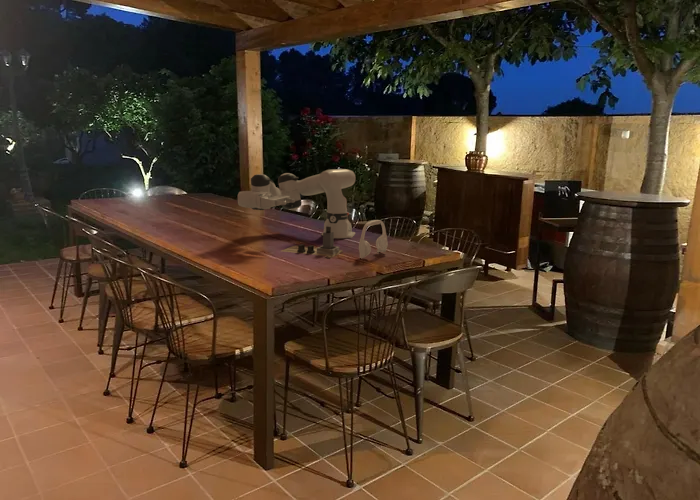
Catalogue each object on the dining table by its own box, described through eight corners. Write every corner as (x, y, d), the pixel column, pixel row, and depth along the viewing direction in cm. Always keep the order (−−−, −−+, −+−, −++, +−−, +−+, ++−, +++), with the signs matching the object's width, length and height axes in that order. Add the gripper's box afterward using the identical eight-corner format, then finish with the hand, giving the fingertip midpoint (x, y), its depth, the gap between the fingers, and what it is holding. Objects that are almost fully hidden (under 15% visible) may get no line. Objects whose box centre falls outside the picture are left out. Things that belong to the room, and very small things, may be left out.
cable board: (294, 247, 291) (294, 238, 290) (342, 252, 282) (342, 243, 281) (280, 252, 277) (280, 243, 276) (330, 258, 267) (330, 249, 266)
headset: (366, 260, 265) (368, 223, 262) (354, 258, 269) (355, 221, 266) (389, 253, 281) (391, 219, 277) (378, 251, 285) (379, 217, 281)
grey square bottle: (326, 251, 278) (326, 225, 276) (333, 252, 277) (333, 226, 274) (322, 252, 275) (323, 226, 272) (330, 253, 273) (330, 227, 271)
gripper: (275, 204, 294) (299, 205, 289) (255, 208, 275) (280, 210, 271) (275, 192, 293) (299, 193, 288) (255, 196, 274) (280, 197, 269)
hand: (290, 201), depth 279 cm, fingers open, 8 cm apart
